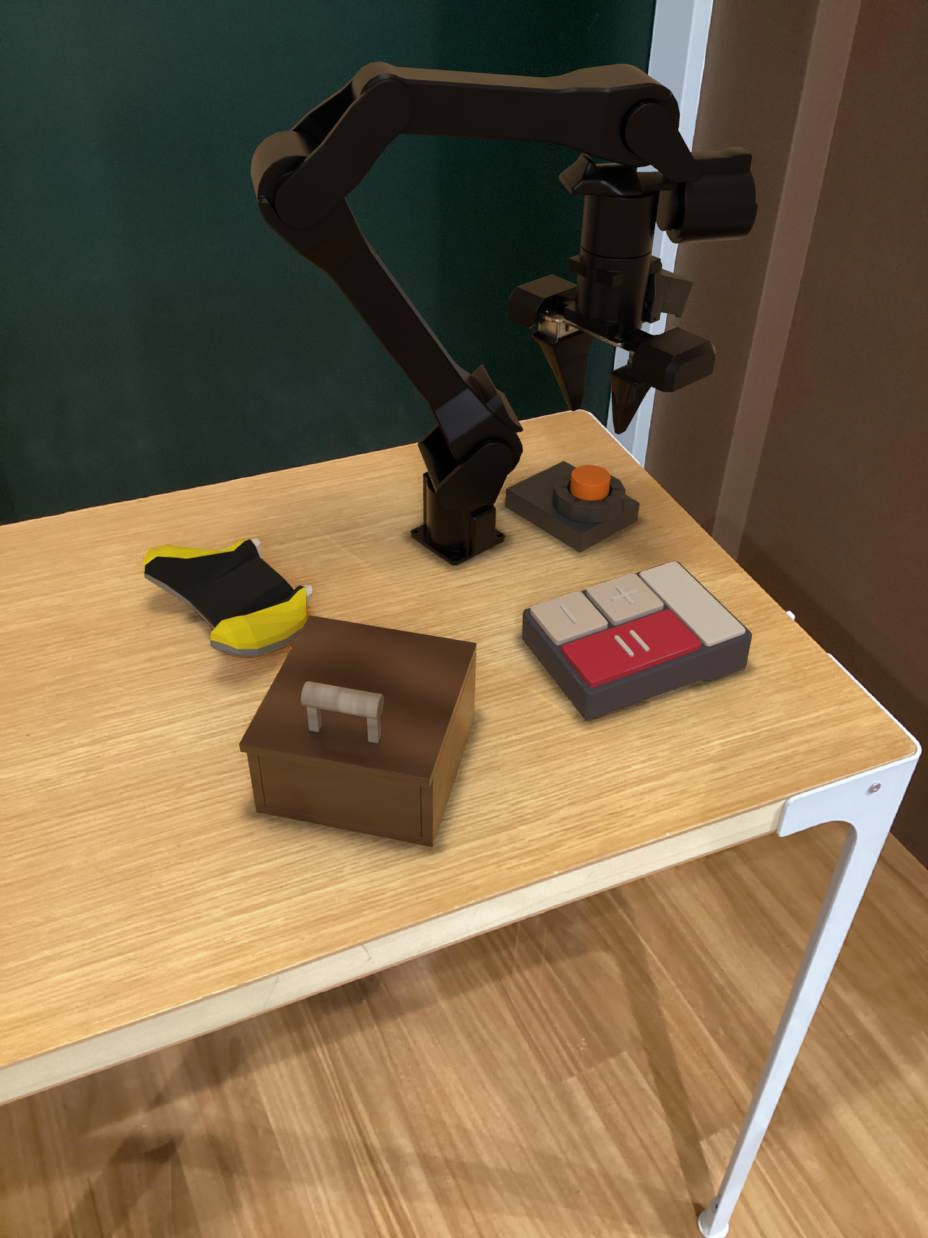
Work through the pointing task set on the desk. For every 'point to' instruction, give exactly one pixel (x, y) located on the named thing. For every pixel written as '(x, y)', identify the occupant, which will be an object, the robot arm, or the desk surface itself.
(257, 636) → the gaming controller
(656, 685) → the calculator
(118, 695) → the desk surface
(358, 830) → the chest
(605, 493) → the button
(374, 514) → the desk surface
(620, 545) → the desk surface
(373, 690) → the lid
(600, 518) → the console
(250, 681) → the desk surface
